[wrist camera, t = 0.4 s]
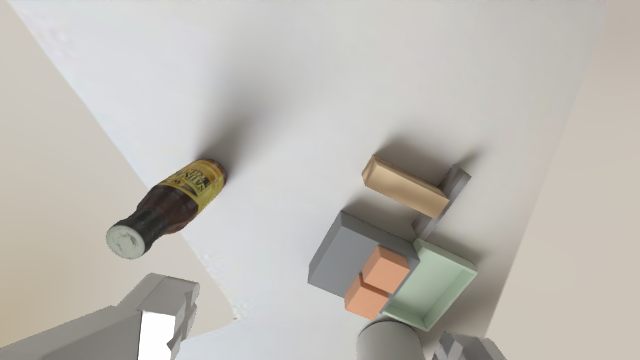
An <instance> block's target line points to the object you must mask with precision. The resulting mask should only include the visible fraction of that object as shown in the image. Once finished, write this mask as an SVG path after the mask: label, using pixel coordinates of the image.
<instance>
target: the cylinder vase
mask: <svg viewBox="0 0 640 360" xmlns="http://www.w3.org/2000/svg"><path fill="white" fill-rule="evenodd" d="M356 352H357V360H426V359H425V356H424V353H423V350H422V347H421V344H420V341H419V338H418V336H417V335H416V333H415V332H414V331H413V330H412V329H411V328H410V327H408V326H407V325H405V324H402V323H399V322H394V321H383V322H378V323H375V324H373V325H370V326H369V327H367V328H366V329H365V330H363V331H362V333H361V334H360V335H359V337H358V339H357V343H356Z"/></svg>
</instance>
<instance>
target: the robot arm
mask: <svg viewBox="0 0 640 360" xmlns="http://www.w3.org/2000/svg"><path fill="white" fill-rule="evenodd" d="M199 289H200V285H199V283H197V282H193V281H188V280H184V279H179V278H174V277H170V276H165V275H160V274H155V273H150V274H148V275H146V277H144V278H143V279H142V280H141V282H140V283H139V284H138V285H137V286H136V287H135V288H134V289H133V290H132V291H131V292H130V293H129V294H128V295H127V296H126V297H125V298H124V299H123V300H122V301H121V302H120V303H119V304H118V305H117V306H108V307H106V308H103V309H100V310H98V311H96V312H93V313H90V314H88V315H85V316H82V317H80V318H78V319H75V320H72V321H69V322H67V323H64V324H62V325H59V326H57V327H54V328H51V329H49V330H46V331H43V332H41V333H38V334H36V335H33V336H30V337H28V338H25V339H23V340H20V341H18V342H15V343H12V344H10V345H7V346H4V347H2V348H0V360H174V359H175V358H176V356H177V354H178V352H179V348H180V342H181V341H183V340H185V339H186V338H187V336H188V334H189V332H190V329H191V327H192V324H193V322H194V318H195V315H196V309H197V306H196V304H195V300H196V298H197V297H198V295H199ZM439 342H440V344H441V347H440V348H439V349H438V350H436V351H435V352H434V355H433V358H432V360H506V358H505V357H504V356H503V354H502V353H501V352H500V350H499V349H498V347H497V346H496V345H495V343H494V342H493V341H491V340H490V339H488V338H482V337H476V336H468V335H463V334H457V333H452V332H447V331H445V332H444V333H443V334H442V335H441V338H440V340H439Z"/></svg>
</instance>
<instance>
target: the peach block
mask: <svg viewBox="0 0 640 360" xmlns="http://www.w3.org/2000/svg"><path fill="white" fill-rule="evenodd" d="M409 271H410V268H409V266H408V263H407V261H406V258H405V257H403V256H400V255H398V254H396V253H394V252H391V251H389V250H387V249H385V248H382V247H380V246H378V245H377V247H376V248H375V250H374V251H373V253H372V254H371V256H370V257H369V259H368V260H367V262H366V263H365V265H364V266H363V268H362V274H363V280H364V282H365V283H368V284H370V285H372V286H375V287H377V288H379V289H382V290H384V291H386V292H389V293H391V294H393V293H394V291H395V290H396V289H397V287H398V286H399V285H400V283H401V282H402V281H403V279H404V278H405V277H406V275H407V274H408V273H409Z"/></svg>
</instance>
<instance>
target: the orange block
mask: <svg viewBox="0 0 640 360" xmlns="http://www.w3.org/2000/svg"><path fill="white" fill-rule="evenodd" d="M388 300H389V296H388V292H386V291H384V290H382V289H379V288H377V287H375V286H372V285H370V284H368V283H365V282H364V280H363V275H361V274H358V275H357V277H356V278H355V280H354V281H353V283H352V284H351V286H350V287H349V289H348V291H347V292H346V294H345V295H344V301H345V309H346V310H348V311H350V312H353V313H355V314H358V315H360V316H363V317H365V318H368V319H370V320H372V321H373V320H374V319H375V317H376V316H377V314H378V313H379V312H380V310H381V309H382V308H383V306H384V305H385V304H386V302H387V301H388Z"/></svg>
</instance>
